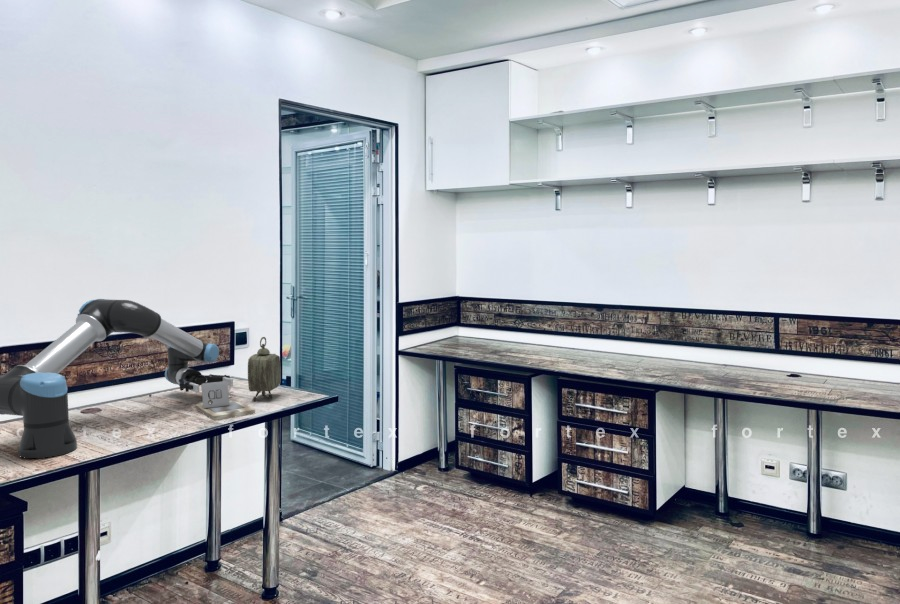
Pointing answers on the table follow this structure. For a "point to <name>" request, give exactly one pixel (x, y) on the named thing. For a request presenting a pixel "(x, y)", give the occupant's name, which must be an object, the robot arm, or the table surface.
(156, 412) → the table surface
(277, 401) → the table surface
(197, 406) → the mounting board
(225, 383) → the electrical switch
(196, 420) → the table surface
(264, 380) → the tabletop clock
